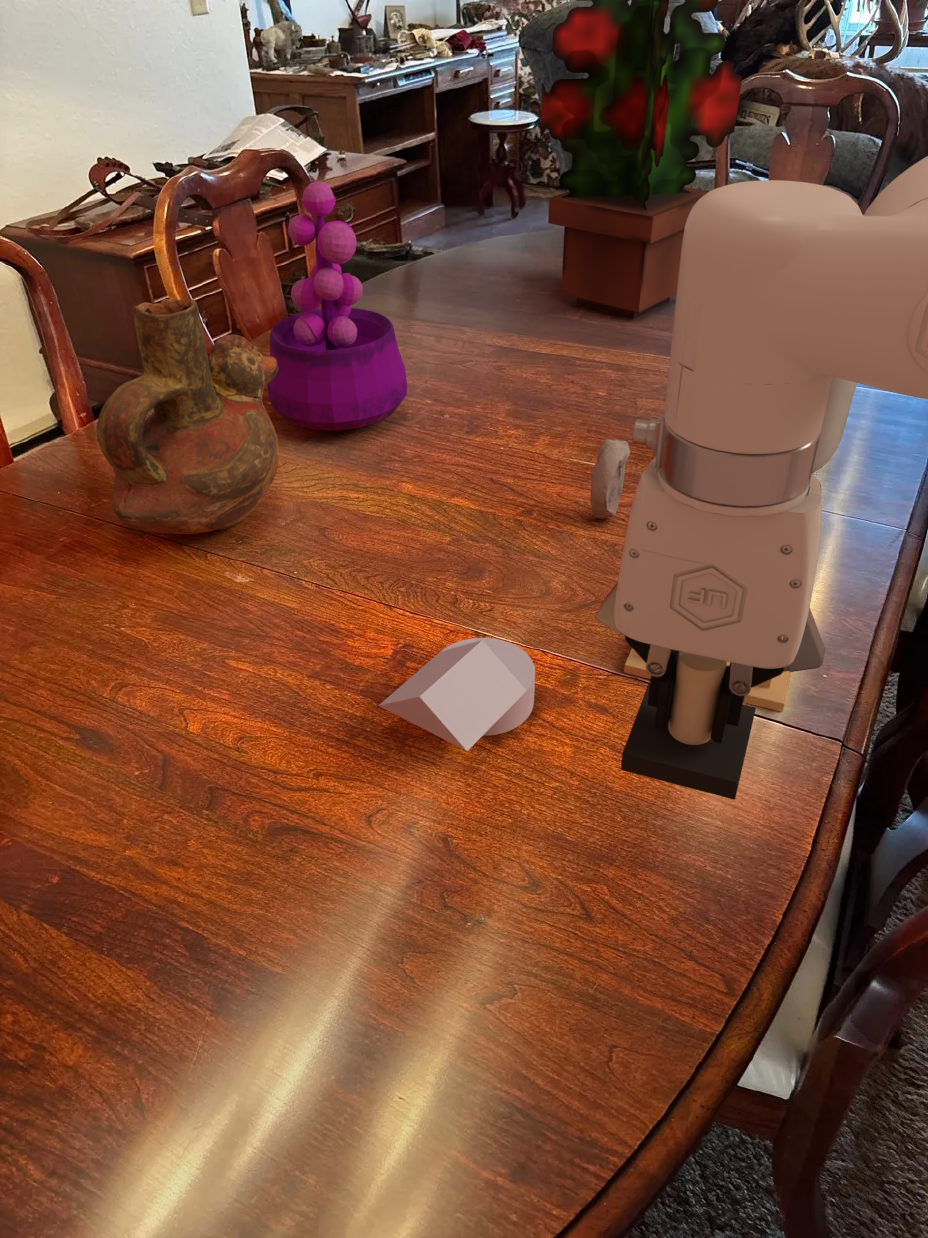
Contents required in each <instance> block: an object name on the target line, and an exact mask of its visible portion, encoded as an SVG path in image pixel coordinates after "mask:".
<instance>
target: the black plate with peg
mask: <svg viewBox="0 0 928 1238" xmlns="http://www.w3.org/2000/svg"><path fill="white" fill-rule="evenodd" d="M726 663H727V661H723V660H718V659H714V658H709V657H705V656H700V655H695V654H691V653H686V652H682V651H679V653H678V660H677V667H676V677H675V684H674V691H673V698H672V705H671V712H670V719H669V722H668V725H667V727H663V729H661V728H657V727H654V725H655V718H656V710H657V707H653V706H649V705H648V696H649V688H650V682H648V683H647V686H646V689H645V691H644V694H643V697H642V699H641V702H640V705H639V708H638V710H637V714H636V716H635V719H634V721H633V723H632V727H631V728H630V732H629V735H628V736H627V740H626V742H625V745H624V747H623V750H622V754H621V761H620V762H621V763H620V770H621V771H623V772H627V773H630V774H636V775H639V776H642V777H646V778H649V779H654V780H658V781H661V782H665V783H670V784H673V785H676V786H681V787H684V788H688V789H691V790H696V791H700V792H703V793H707V794H711V795H714V796H719V797H723V798H725V799H730V800H736V797H737V793H738V789H739V784H740V781H741V775H742V772H743V767H744V763H745V757H746V754H747V749H748V745H749V740H750V737H751V731H752V727H753V723H754V718H755V715H756V709H757V707H755V706H750V705H747V704H743V707H742V712H741V716H740V721H739V725H738V727H737V726H733V725H729V724H727V725H726V729H725V733H724V737H723V741H722V743H718V742H714V741H713V740H714V739H711V732H712V727H713V721H714V716H715V710H716V705H717V699H718V694H719V690H720V687H721V683H722V682H723V679H724V674H725V669H726Z"/></svg>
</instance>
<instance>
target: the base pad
mask: <svg viewBox="0 0 928 1238" xmlns="http://www.w3.org/2000/svg"><path fill="white" fill-rule="evenodd" d="M781 637H782V636H781ZM782 639H783V637H782ZM730 663H731V662H728V661H727V663H726V666H729V665H730ZM623 673H624V674H627V675H630V676H631V675H632V676H635V677H640V678H644V679H648V680H651V675H650V674H648V672H647V671H646V662H645V661H644V660H643V659H642V658H641V657H640V656H639V655H638V654H637V653H636V651H635V650H634V649H633V648H632V647H631V649H630V650H629V653H628V656H627V658H626V660H625V663H624V667H623ZM791 677H792V672H789V671H785V672H783V673H782V674H781V675H779V676H777V677H775V678H772V679H770V680H768V681H766V682H763V683H761V684H759V685H756V686H754V687H752V688H751V690H750V693H749V694H748V695H746V696H745V698H744V702H743V704H748V705H752V706H757V707H760V708H765V709H769V710H773V711H777V712H780V713H782V712H783V711H784V709H785V705H786V701H787V694H788V690H789V686H790V681H791Z"/></svg>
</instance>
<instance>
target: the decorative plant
mask: <svg viewBox="0 0 928 1238" xmlns="http://www.w3.org/2000/svg"><path fill="white" fill-rule="evenodd" d="M336 198H337V197H336V196H334V192H333V190H332V188H331V187H330V186H329V185H328V184H326V183H325V182H323V181H313V182H311V183H309V184H308V185H307V186H306V187H305V188H304V190H303V193H302V198H301V202H302V205H303V208H304V210H305V211H306V212H307V213H308V214H307V213H304V214H298V215H294V216H293V217H292V218H291V220H289V223H288V227H287V233H288V235H289V238H290V239H291V240H292V241H293V242H294V243H295V244H297V246H299V247H300V246H301V247H305V246H308V245H311V243H313V242H314V241H315V243H314V244H315V246H314V247H315V248H314V253H315V262H314V263H313V266H312V268H311V272H310V277H311V278H310V277H306V278H304V279H303V278H301V279H299V280H297V281H295V282H294V284H293V285H292V287H291V290H290V298H291V300H292V303H293V304H294V306H295V307H296V308H297V309H299V310H301V311H302V312H301V311H300V312H298V313H295V314H292V315H289V316H287V317H284V318H283V319H281V320H280V321H278V322H276V324H274V325H273V326H272V328H271V330H270V333H269V334H270V335H269V356H272V357H274V358H276V360H277V367H278V368H279V369H278V372H277V374H276V376H275V378H274V379H272V380H271V382H270V383H269V384H268V385H267V386H266V388H267V397H268V398H267V400H268V402H269V403H270V405H271V406H272V408H273V410H275V411H276V412H277V413H278V414H279V415H280V416H281V417H283V418H284V419H285V420H287V421H289V422H291V423H293V424H294V425H296V426H298V427H302V428H306V429H312V430H314V431H315V430H317V431H344V430H353V429H360V428H363V427H367V426H370V425H374V424H378V423H379V422H380V421H383V420H384V419H387V418H388V417H391V416H392V414H393V413H394V412H395V411H396V410H397V408H399V406H400V405H401V404H402V402H403V401H404V400H405V398H406V397H407V396H408V380H407V373H406V372H407V371H406V367H405V363H404V361H403V357H402V355H401V352H400V350H399V346H398V341H397V337H396V331H395V328H394V324H393V322H392V321H391V320H390V318H388V317H386V315H383V314H382V313H380V312H376V311H373V310H369V309H365V308H364V309H363V308H356V307H352V306H353V305H355V304H357V303H358V302H359V301H360V300H361V298H362V297H363V293H364V292H363V291H364V289H363V284H362V282H361V280H360V279H359V278H357V277H356V276H355V275H352V274H351V273H350V272H345V273H343V272H342V267H341V266H340V265H342V264H345V263H347V262H348V261H350V260H351V259H352V258H353V256H354V254H355V253H356V249H357V245H358V244H357V243H358V242H357V237H356V233H355V231H354V229H353V227H352V226H351V225H349V224H348V223H347V222H346V221H341V220H333V221H328V222H327V223H326V222H325V219H324V217H325V216H328V215H329V214H330V213H331V212H332V211H333V210H334V207H335V205H336V200H337V199H336ZM309 214H310V215H312V216H314V217H316V222H315V221H314V219H313V218H312V217H311V216H310V215H309ZM319 307H321V308H319Z"/></svg>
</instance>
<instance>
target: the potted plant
mask: <svg viewBox="0 0 928 1238" xmlns="http://www.w3.org/2000/svg"><path fill="white" fill-rule="evenodd" d="M575 1H577V2H581V1H587V2H589V1H591V2H592V4H591V5H590V6H576V7H572V8H571V9H570V10H569V11H568V13H567V15H566V19H564V20H563V21H562V22H559V23H557V24H556V25H555V27H554V28H553V31H552V41H551V51H552V54H553V56H554V57H555V58H557V59H558V60H562V61H563V63H564V67H565V69H566V70H567V72H569V73H572V74H587V75H588V76H587V77H584V78H560V79H557V80H555V81H554V82H553V83H552V84H551V87H550V90H549V92H547V90H546V87H545V84H544V83H543V82H541V96H540V97H541V98H540V100H541V101H540V128H539V129H540V131H539V133H540V134H539V138H540V139H541V138H542V137H543V135H544V132H545V131H546V129H547V130H548V133H549V136H550V137H551V138H552V139H553V140H556V141H558V142H560V146H561V149H562V150H563V151H564V152H566V153H570V154H571V168H570V169H568V170H565V171H563V172H562V173H561V174H560V177H559V180H558V182H559V186H560V187H561V188H562V189H564V190H567V191H566V192H564V193H560V194H558V195H555V196H552V197H549V198H548V217H547V220H548V221H547V223H548V224H549V225H554V226H560V227H564V231H563V248H562V249H563V250H562V268H561V270H562V271H561V291H560V294H561V295H564V296H569V297H572V298H576V301H575V303H576V304H575V305H577V306H581V307H585V308H589V309H594V310H598V311H601V312H606V313H609V314H614V315H618V316H621V317H626V318H629V319H635V318H637V317H639V316H641V315H644V314H646V313H648V312H649V311H651V310H652V309H655V308H657V307H659V306H661V305H662V304H664V303H666V302H669V301H670V298H671V297H672V296H674V295H677V286H678V277H679V268H680V259H681V249H682V242H683V235H684V229H685V224H686V221H687V218H688V216H689V214H690V212H691V210H692V208H693V206H694V205H695V204H696V202H697V201H698V200H699V199H700V198H701V197H702V196H704V195H705V194H707V193H708V192H709V191H710V190H704V189H700V188H699V189H697V188H691V187H686V186H689V185H691V184H693V183H694V181H696V178H697V170H696V169H695V168H694V167H693V166H690V165H688V164H687V163H688V162H691V161H693V160H695V159H696V158H697V157H698V155H699V153H700V146H699V144H698V142H696V141H693V140H691V139H690V138H691V137H700V136H701V137H702V136H703V137H704V138H705V141H706V144H707V146H709V147H710V148H713V149H716V148H718V147H720V146H722V144H723V143H724V142H725V138H726V137H727V136H728V135H731V134H733V133H735V129H736V123H737V115H738V109H739V102H740V95H741V88H742V81H743V75H741V74H739V73H737V72H736V71H735V67H734V66H735V65H734V64H733V62H731V61H729V60H722V61H720V62H719V63H718V64H717V65H716V67H715V69H714V72H713V73H711V72H710V71H711V65H712V64H711V63H712V58H713V57H714V56H717V55H719V54H721V53H722V52H723V51H724V49H725V47H726V45H727V41H726V37H725V36H724V34H723V33H720V32H704V30H703V26H702V23H701V22H700V20H698V19H696V18H694V17H693V16H692V15H694V14H701V13H703V14H705V13H710V12H712V11H714V10H715V9H716V8H717V7H718V3H719V1H720V0H684V2H683V3H681V4H679V5H677V6H675V7H674V8H673V9H672V11H671V13H670V16H669V26H668V32H667V33H666V32H665V24H666V18H667V16H668V11H669V4H670V0H575ZM628 2H630V3H628ZM676 44H679V51H678V52H679V53H678V59H677V60H675V49H676Z"/></svg>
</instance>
